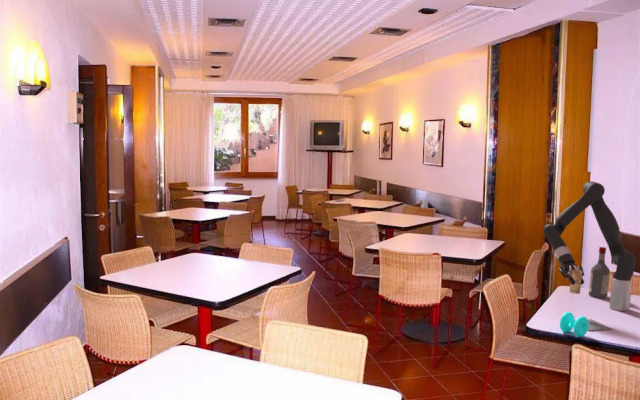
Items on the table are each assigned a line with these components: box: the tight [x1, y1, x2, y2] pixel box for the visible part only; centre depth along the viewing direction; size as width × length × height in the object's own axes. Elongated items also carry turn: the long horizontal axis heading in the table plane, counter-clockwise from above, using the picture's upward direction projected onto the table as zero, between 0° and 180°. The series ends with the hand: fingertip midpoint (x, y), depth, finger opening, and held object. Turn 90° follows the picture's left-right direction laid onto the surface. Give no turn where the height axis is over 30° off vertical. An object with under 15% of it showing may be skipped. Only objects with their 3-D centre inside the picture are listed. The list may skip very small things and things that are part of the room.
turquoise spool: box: [559, 311, 589, 338], centre depth 263 cm, size 10×10×10 cm
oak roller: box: [569, 269, 583, 295], centre depth 289 cm, size 5×5×12 cm
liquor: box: [588, 246, 611, 299], centre depth 329 cm, size 9×9×30 cm
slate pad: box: [575, 318, 613, 332], centre depth 277 cm, size 14×14×1 cm
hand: (578, 283), depth 288 cm, fingers closed on oak roller, 5 cm apart
